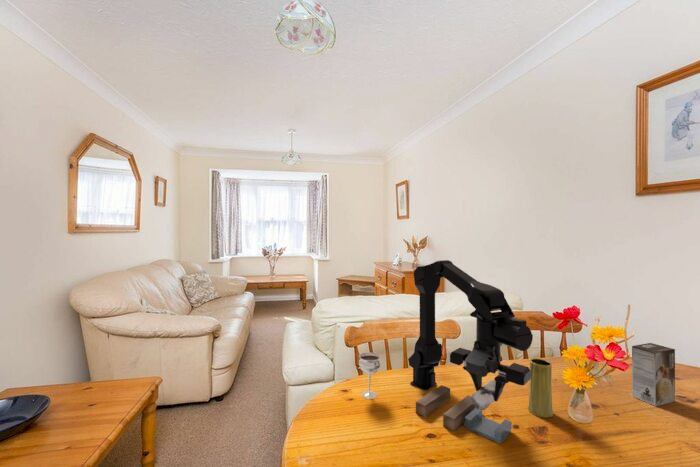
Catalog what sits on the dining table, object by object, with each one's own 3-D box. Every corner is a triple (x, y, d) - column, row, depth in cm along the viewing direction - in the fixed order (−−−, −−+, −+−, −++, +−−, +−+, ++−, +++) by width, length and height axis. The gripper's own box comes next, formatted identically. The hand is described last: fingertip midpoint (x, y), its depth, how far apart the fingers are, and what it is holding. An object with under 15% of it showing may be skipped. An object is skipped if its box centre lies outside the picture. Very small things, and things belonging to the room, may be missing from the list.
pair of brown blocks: (415, 412, 90) (415, 401, 90) (441, 395, 99) (441, 385, 99) (453, 431, 81) (453, 418, 81) (477, 410, 91) (477, 399, 91)
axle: (487, 413, 77) (487, 396, 77) (471, 406, 80) (471, 390, 80) (502, 398, 84) (502, 382, 84) (487, 392, 87) (487, 377, 87)
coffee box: (650, 392, 102) (650, 342, 102) (675, 402, 96) (676, 349, 96) (631, 396, 99) (631, 345, 99) (656, 407, 93) (656, 352, 93)
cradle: (464, 427, 83) (464, 417, 83) (476, 416, 88) (476, 407, 88) (501, 444, 77) (501, 433, 76) (511, 431, 81) (511, 421, 81)
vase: (556, 419, 87) (557, 367, 87) (532, 416, 88) (532, 365, 88) (547, 407, 93) (548, 358, 93) (524, 405, 94) (525, 356, 94)
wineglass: (355, 397, 98) (355, 358, 98) (362, 387, 104) (363, 351, 104) (376, 402, 95) (376, 362, 95) (382, 391, 101) (383, 354, 101)
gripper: (439, 335, 83) (438, 395, 83) (516, 356, 70) (515, 427, 70) (459, 327, 91) (459, 381, 91) (532, 343, 78) (531, 407, 78)
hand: (487, 397), depth 82 cm, fingers closed on axle, 4 cm apart
